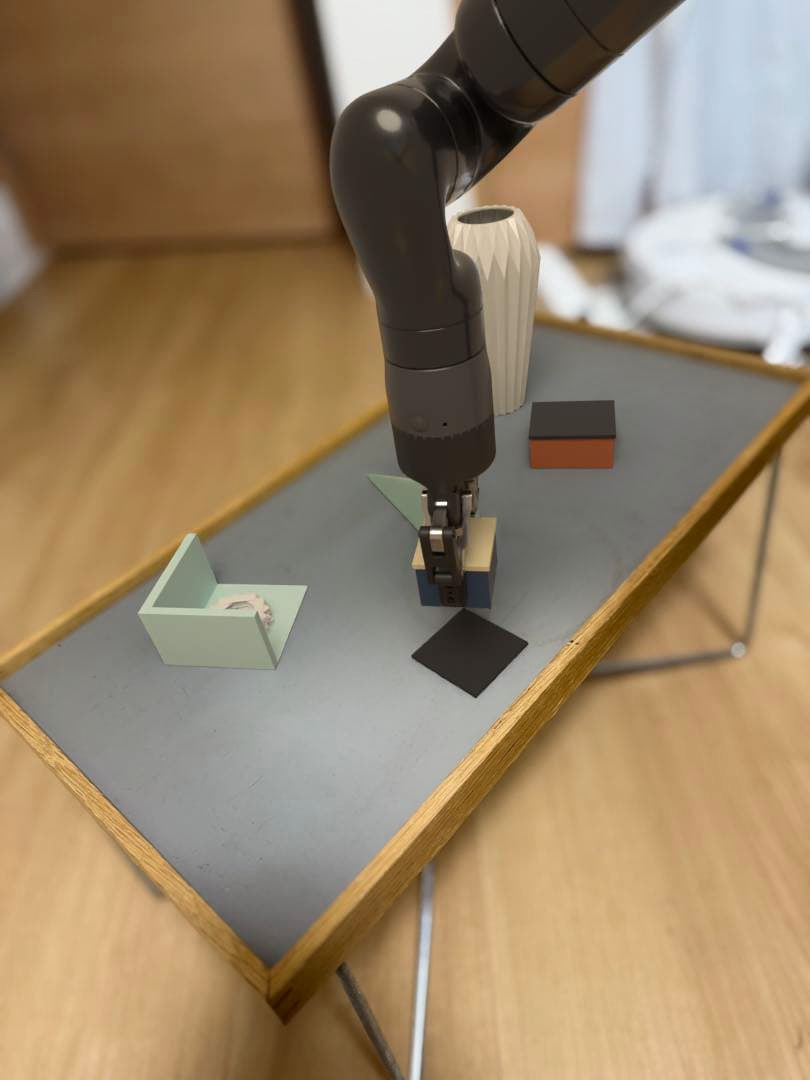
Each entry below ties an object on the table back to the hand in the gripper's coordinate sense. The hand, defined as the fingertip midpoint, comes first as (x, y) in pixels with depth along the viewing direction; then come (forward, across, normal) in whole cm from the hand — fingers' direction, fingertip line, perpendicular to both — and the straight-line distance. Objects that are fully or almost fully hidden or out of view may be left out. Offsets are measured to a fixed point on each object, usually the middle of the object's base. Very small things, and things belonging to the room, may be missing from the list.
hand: (460, 575), depth 61 cm
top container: (+1, 0, 0) cm, 1 cm away
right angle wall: (+10, +2, +25) cm, 27 cm away
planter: (+10, +22, +11) cm, 27 cm away
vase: (+10, +48, +2) cm, 49 cm away
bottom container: (+10, +35, -9) cm, 38 cm away
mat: (+10, 0, 0) cm, 10 cm away
